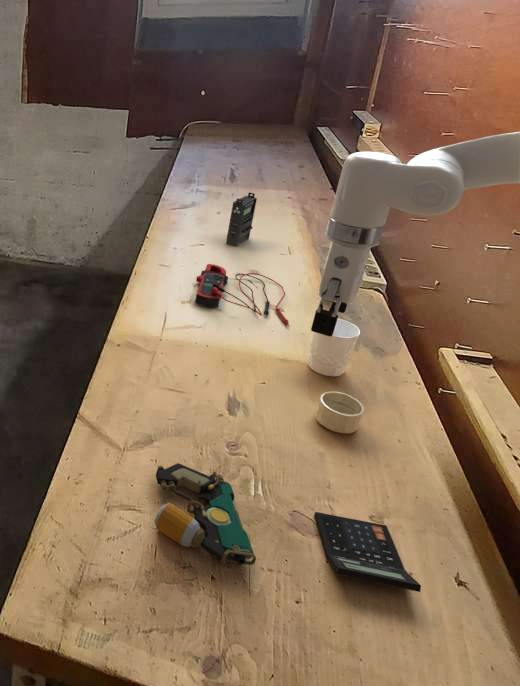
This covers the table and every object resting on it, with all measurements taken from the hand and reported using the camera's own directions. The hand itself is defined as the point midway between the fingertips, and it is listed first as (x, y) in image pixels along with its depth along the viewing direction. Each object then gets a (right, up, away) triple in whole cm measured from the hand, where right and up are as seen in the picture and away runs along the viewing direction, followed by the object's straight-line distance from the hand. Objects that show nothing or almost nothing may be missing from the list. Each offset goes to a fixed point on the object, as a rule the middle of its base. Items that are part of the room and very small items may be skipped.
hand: (328, 321), depth 98 cm
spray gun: (-27, -29, -12) cm, 41 cm away
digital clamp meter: (+7, +2, +49) cm, 49 cm away
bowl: (+5, -19, +6) cm, 21 cm away
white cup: (+12, -12, +21) cm, 27 cm away
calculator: (-7, -32, -19) cm, 38 cm away
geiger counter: (+22, +18, +81) cm, 85 cm away
